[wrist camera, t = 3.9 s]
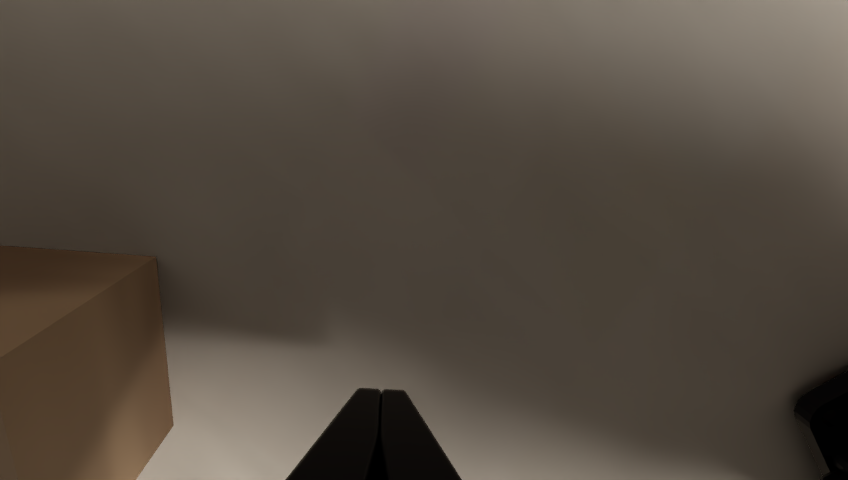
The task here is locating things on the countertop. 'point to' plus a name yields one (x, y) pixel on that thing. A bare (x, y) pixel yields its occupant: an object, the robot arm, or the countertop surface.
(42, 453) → the t block
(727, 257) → the countertop surface
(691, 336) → the countertop surface
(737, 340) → the countertop surface
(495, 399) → the countertop surface
